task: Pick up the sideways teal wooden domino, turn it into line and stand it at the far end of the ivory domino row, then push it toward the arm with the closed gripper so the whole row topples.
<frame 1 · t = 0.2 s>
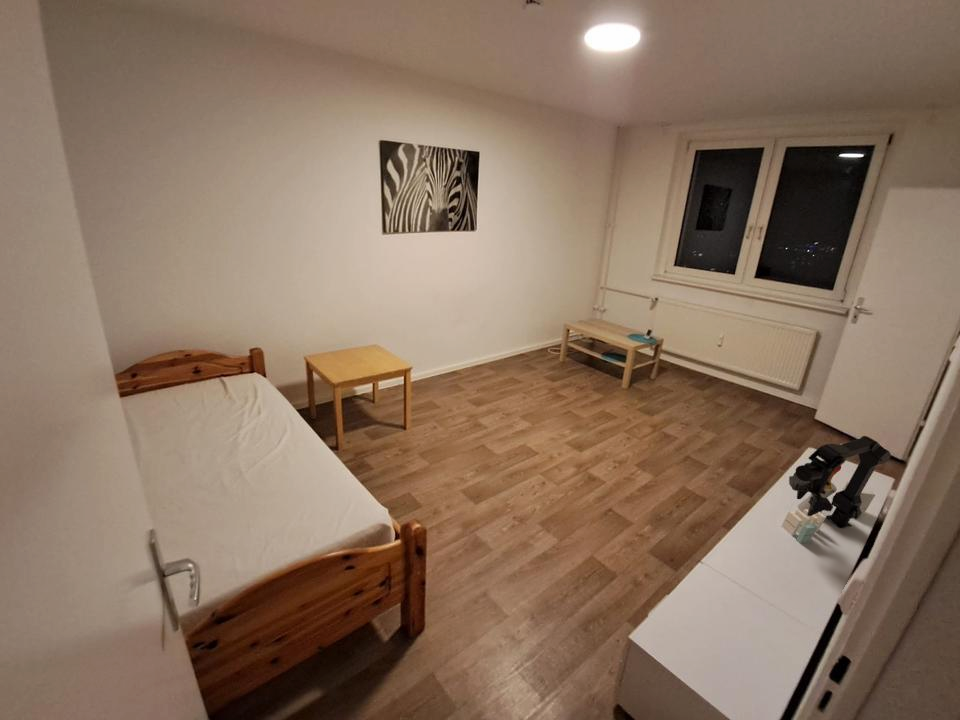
hand: (803, 507, 171), 14 cm above the cabinet, fingers open, 9 cm apart
domino c: (795, 529, 179), on the cabinet
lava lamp: (809, 511, 190), on the cabinet
supplement box: (848, 510, 192), on the cabinet
domino d: (803, 528, 180), on the cabinet
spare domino: (802, 540, 173), on the cabinet
end domino: (810, 527, 181), on the cabinet
domino b: (787, 530, 178), on the cabinet
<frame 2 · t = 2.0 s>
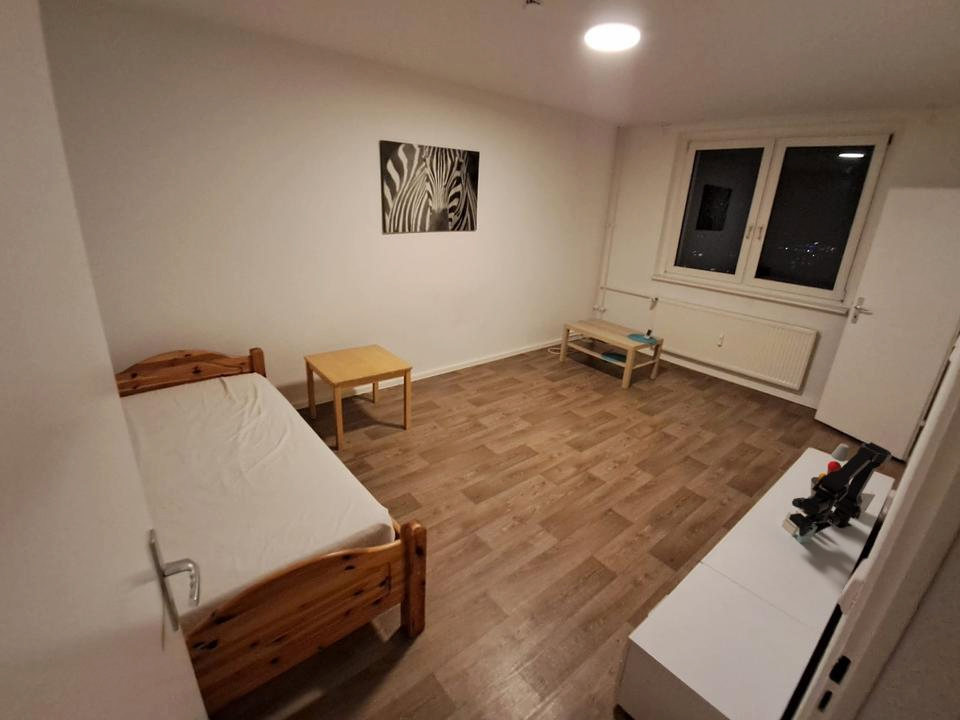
hand: (805, 534, 172), 3 cm above the cabinet, fingers closed on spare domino, 5 cm apart
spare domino: (802, 540, 173), on the cabinet, touching gripper
everything else where it was.
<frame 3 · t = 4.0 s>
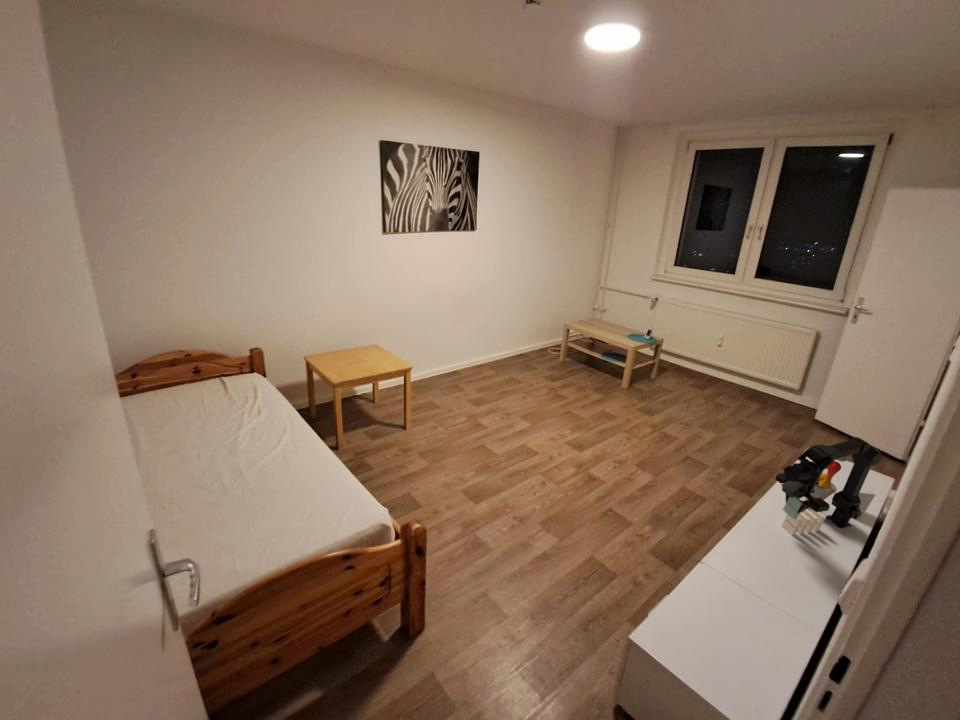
hand: (792, 508, 171), 13 cm above the cabinet, fingers closed on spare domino, 5 cm apart
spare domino: (789, 514, 173), point 10 cm above the cabinet, touching gripper
everything else where it was.
when the fingers open (4 cm above the cabinet, at t = 6.0 s): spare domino stays where it is, on the cabinet.
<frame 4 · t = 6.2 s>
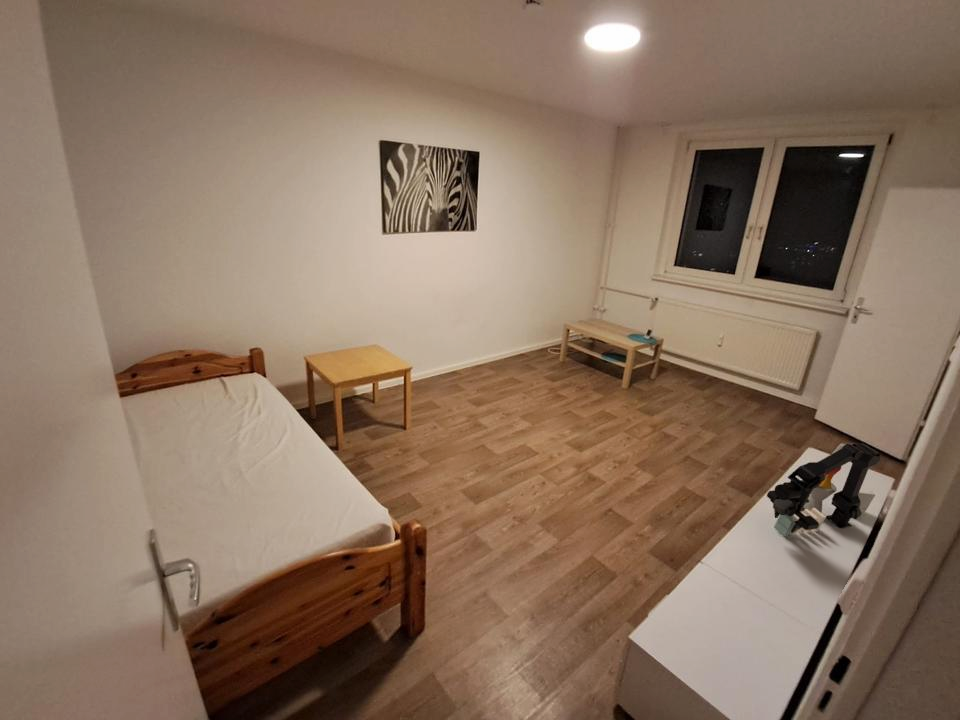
hand: (783, 524, 175), 4 cm above the cabinet, fingers open, 7 cm apart
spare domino: (780, 531, 177), on the cabinet
everything else where it was.
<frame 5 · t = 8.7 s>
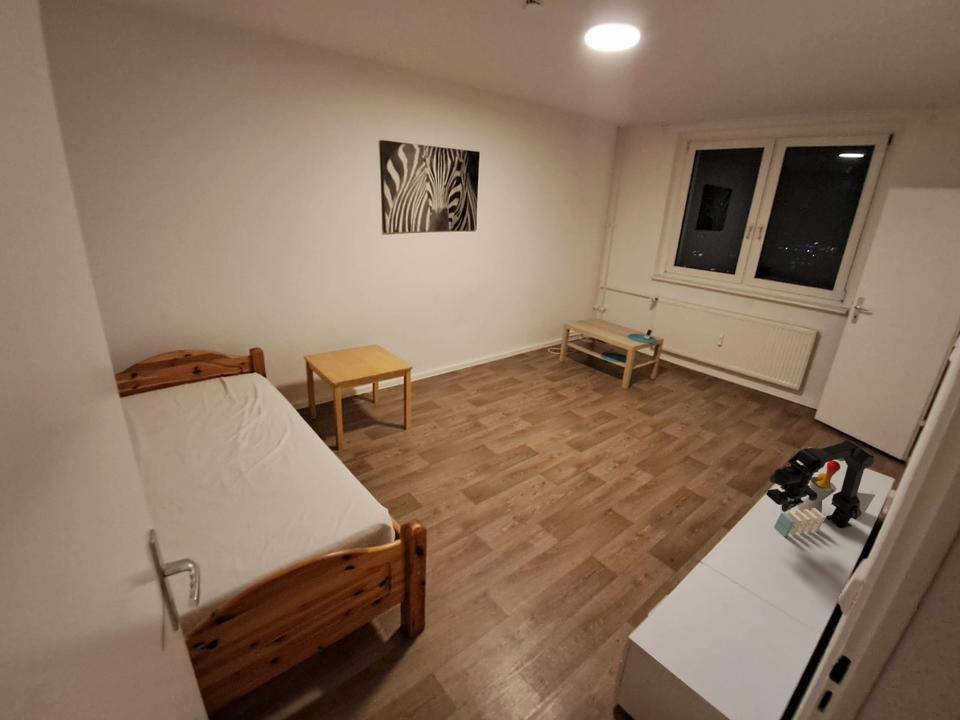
hand: (783, 511, 171), 12 cm above the cabinet, fingers closed
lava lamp: (809, 511, 190), on the cabinet, touching arm
everything else where it was.
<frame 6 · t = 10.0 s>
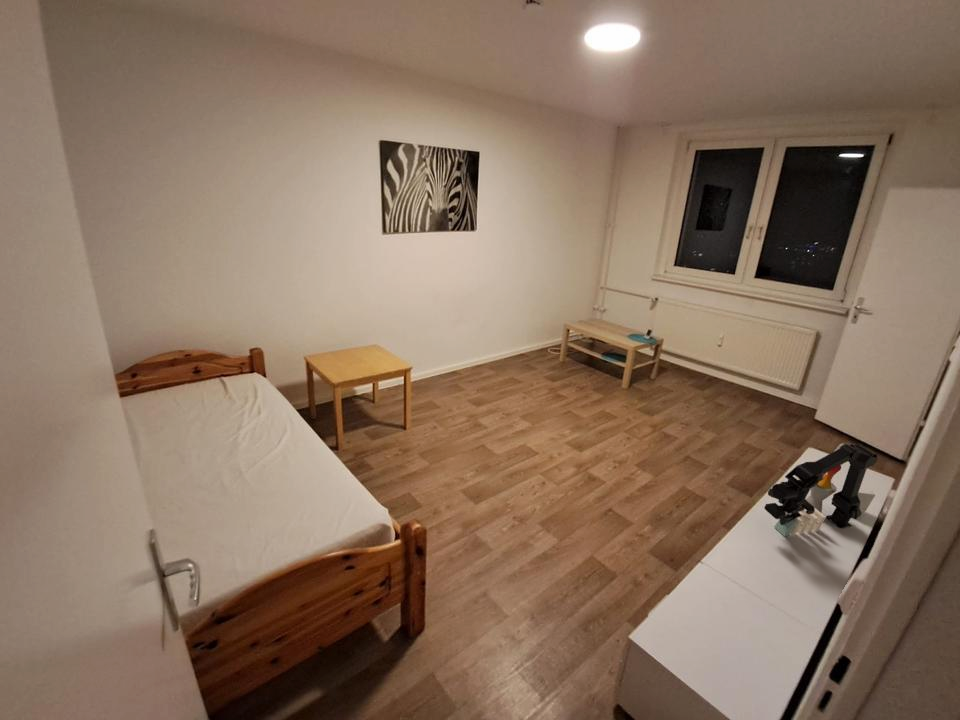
hand: (781, 524, 175), 4 cm above the cabinet, fingers closed
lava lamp: (809, 511, 190), on the cabinet
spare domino: (780, 531, 177), on the cabinet, tilted 13°
everything else where it was.
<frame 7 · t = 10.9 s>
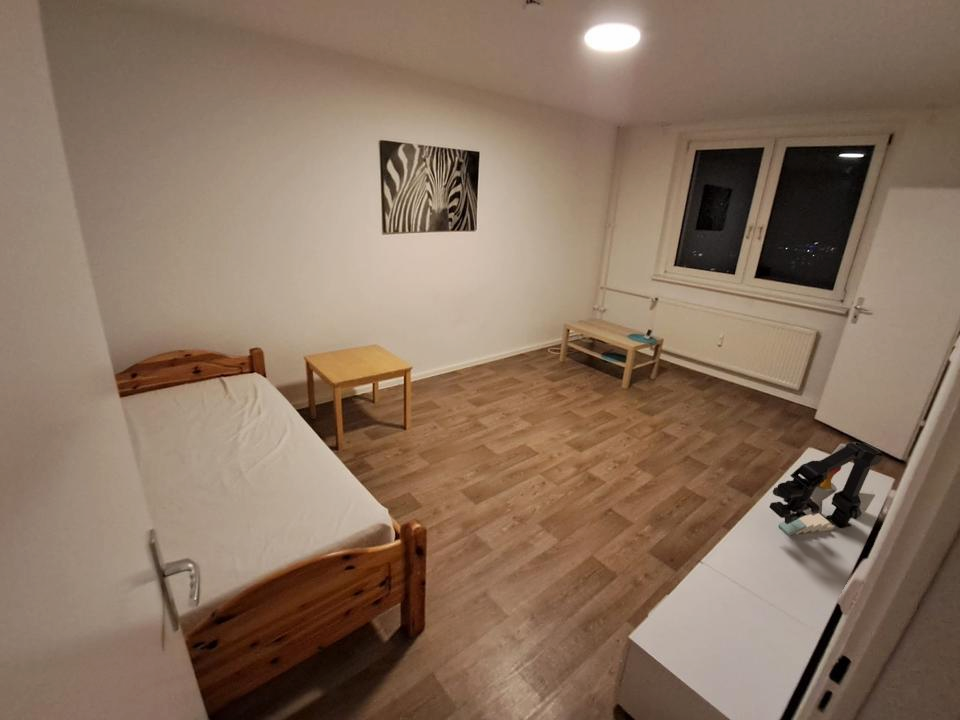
hand: (786, 523, 175), 4 cm above the cabinet, fingers closed
domino c: (798, 527, 179), point 1 cm above the cabinet, tilted 66°, touching domino d
domino d: (806, 526, 180), point 1 cm above the cabinet, tilted 67°, touching domino c
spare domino: (783, 530, 177), point 1 cm above the cabinet, tilted 66°, touching domino b
end domino: (813, 525, 181), point 1 cm above the cabinet, tilted 89°
domino b: (790, 528, 178), point 1 cm above the cabinet, tilted 66°, touching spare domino
everything else where it was.
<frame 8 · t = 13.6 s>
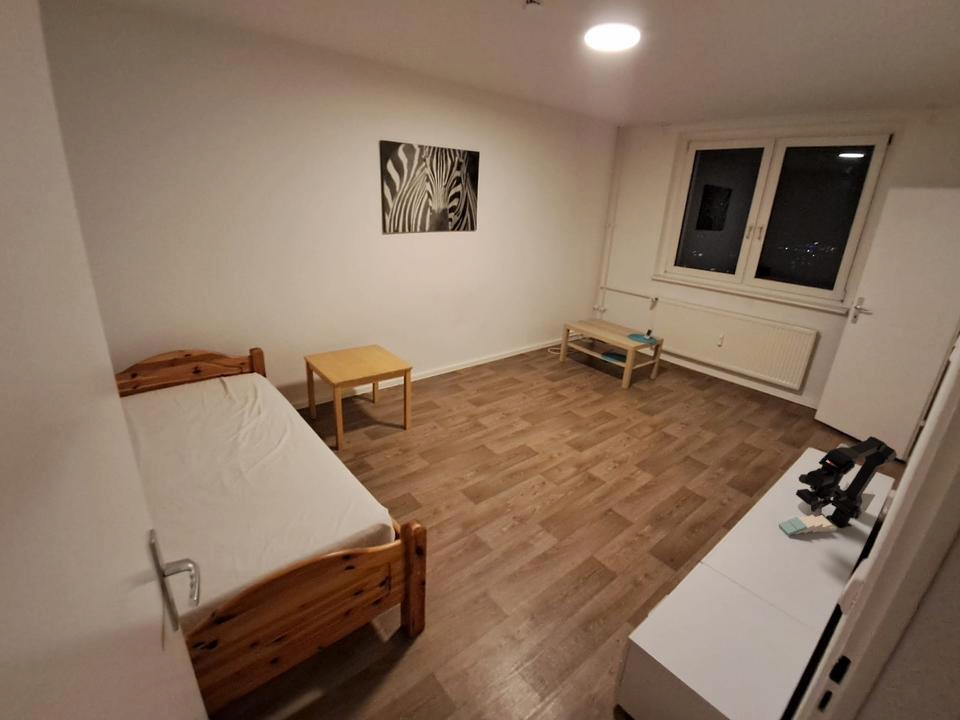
hand: (812, 511, 171), 12 cm above the cabinet, fingers closed
domino c: (799, 527, 179), point 1 cm above the cabinet, tilted 66°, touching domino b, domino d
domino d: (807, 526, 180), point 1 cm above the cabinet, tilted 69°, touching domino c, end domino
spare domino: (783, 529, 177), point 1 cm above the cabinet, tilted 66°
end domino: (814, 526, 181), point 1 cm above the cabinet, tilted 89°, touching domino d
domino b: (791, 528, 178), point 1 cm above the cabinet, tilted 66°, touching domino c
everything else where it was.
at the end: end domino tilted 89°; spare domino inside the target area (0.4 cm from its centre), point 0.7 cm above the cabinet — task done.
